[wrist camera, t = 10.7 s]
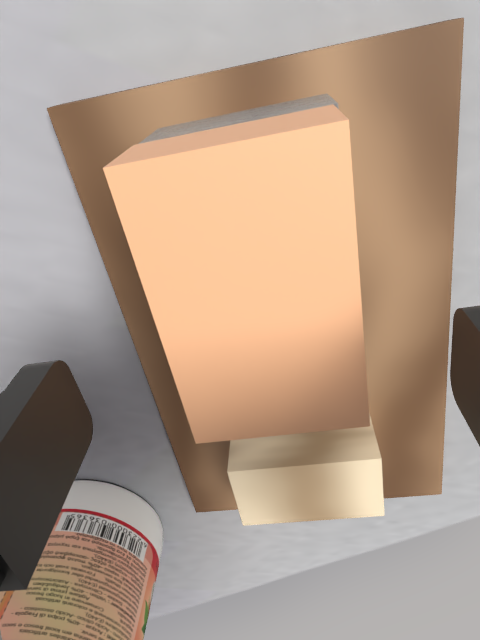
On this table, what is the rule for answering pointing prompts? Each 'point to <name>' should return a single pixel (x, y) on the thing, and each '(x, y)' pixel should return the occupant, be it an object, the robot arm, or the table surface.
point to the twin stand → (373, 253)
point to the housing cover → (252, 271)
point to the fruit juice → (90, 571)
